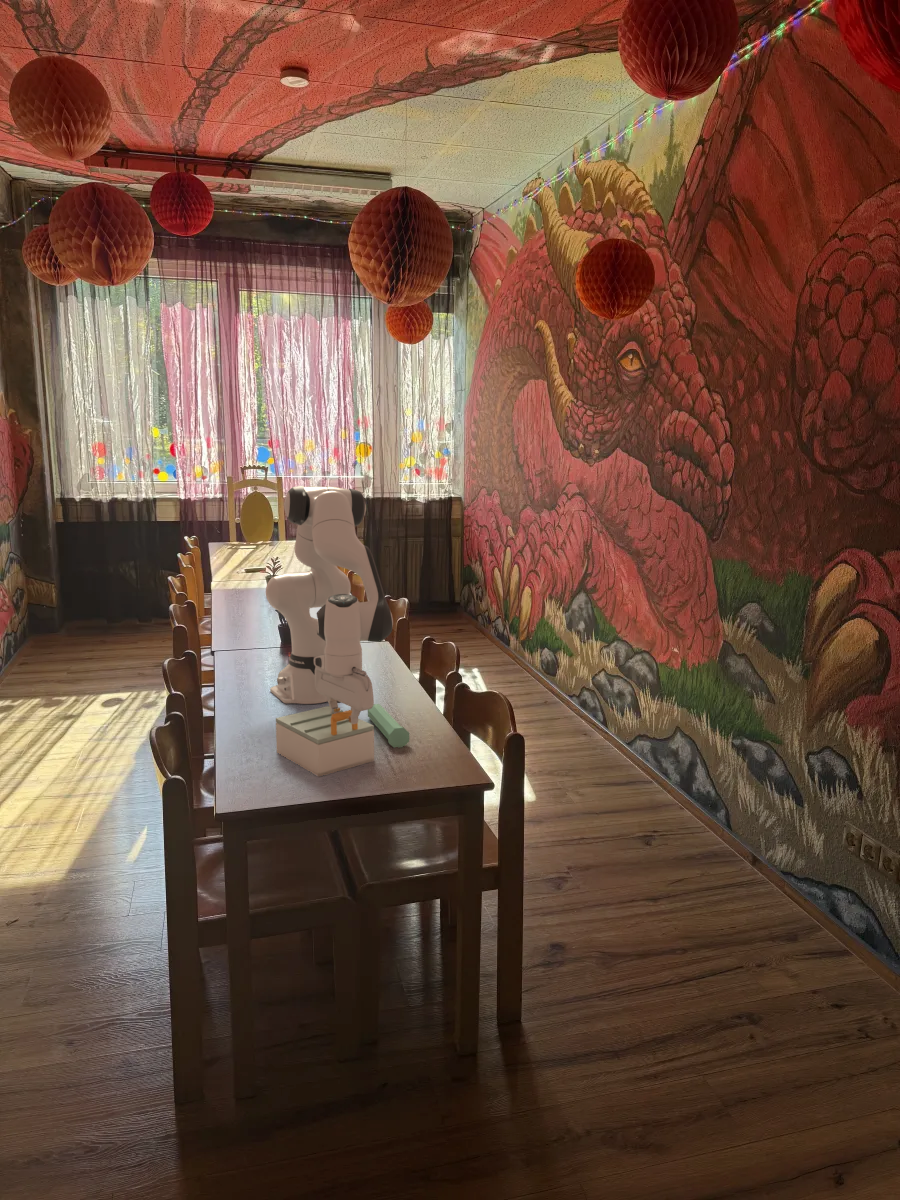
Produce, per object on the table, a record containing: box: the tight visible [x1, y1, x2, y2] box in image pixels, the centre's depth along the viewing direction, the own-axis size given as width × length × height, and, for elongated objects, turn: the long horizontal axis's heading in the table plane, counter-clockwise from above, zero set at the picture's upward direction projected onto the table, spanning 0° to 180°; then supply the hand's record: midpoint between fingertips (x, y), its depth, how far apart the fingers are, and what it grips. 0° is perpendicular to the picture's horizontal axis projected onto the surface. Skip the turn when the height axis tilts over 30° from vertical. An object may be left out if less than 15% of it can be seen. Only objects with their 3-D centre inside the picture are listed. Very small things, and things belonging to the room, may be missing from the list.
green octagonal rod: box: [367, 703, 410, 749], centre depth 234 cm, size 6×6×25 cm
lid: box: [275, 705, 375, 744], centre depth 214 cm, size 20×16×6 cm
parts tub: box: [275, 722, 375, 778], centre depth 215 cm, size 20×16×8 cm
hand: (344, 718), depth 207 cm, fingers open, 6 cm apart
